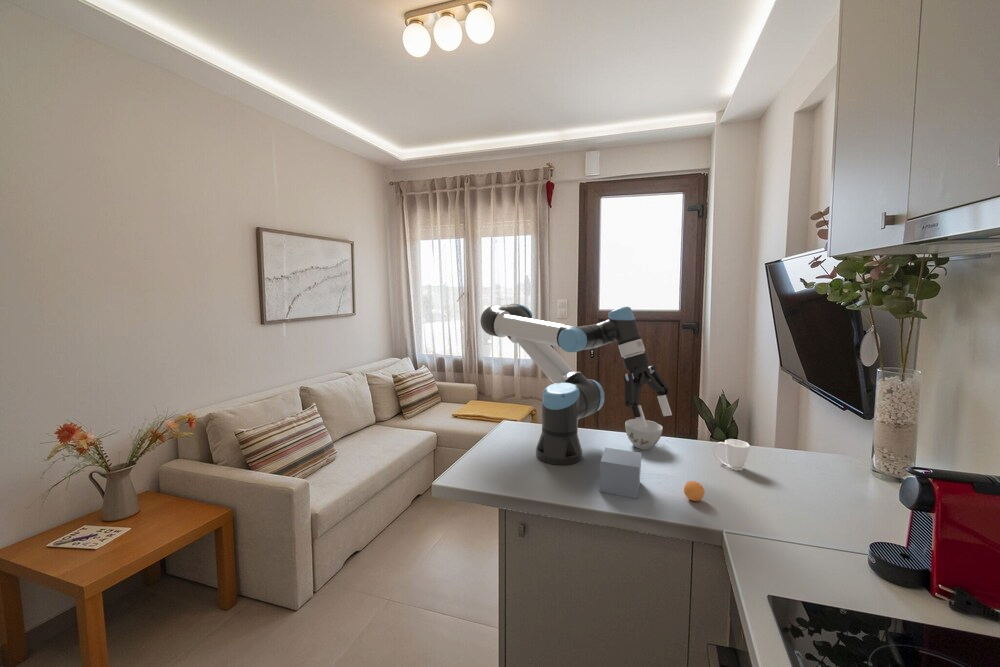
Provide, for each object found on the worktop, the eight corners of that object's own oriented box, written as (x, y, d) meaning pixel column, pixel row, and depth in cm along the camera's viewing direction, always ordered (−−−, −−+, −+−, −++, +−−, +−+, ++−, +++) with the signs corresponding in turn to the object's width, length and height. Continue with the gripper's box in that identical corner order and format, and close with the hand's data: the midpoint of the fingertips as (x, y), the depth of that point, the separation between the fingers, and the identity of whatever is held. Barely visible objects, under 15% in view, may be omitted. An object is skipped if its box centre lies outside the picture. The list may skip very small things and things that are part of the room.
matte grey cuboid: (599, 491, 117) (600, 461, 116) (604, 475, 126) (605, 447, 125) (637, 498, 113) (639, 467, 112) (639, 481, 123) (641, 452, 122)
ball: (683, 502, 112) (684, 484, 111) (682, 493, 116) (684, 476, 116) (704, 506, 110) (705, 488, 109) (702, 497, 115) (704, 479, 114)
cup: (745, 474, 128) (747, 449, 127) (709, 465, 134) (711, 440, 133) (750, 467, 133) (752, 442, 132) (715, 458, 140) (717, 434, 139)
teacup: (649, 457, 140) (650, 433, 139) (616, 445, 149) (617, 423, 148) (671, 445, 150) (673, 423, 149) (639, 435, 159) (640, 414, 158)
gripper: (619, 359, 123) (642, 431, 120) (665, 346, 138) (687, 409, 135) (600, 365, 129) (621, 433, 126) (646, 351, 144) (667, 412, 141)
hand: (656, 421), depth 130 cm, fingers open, 13 cm apart
